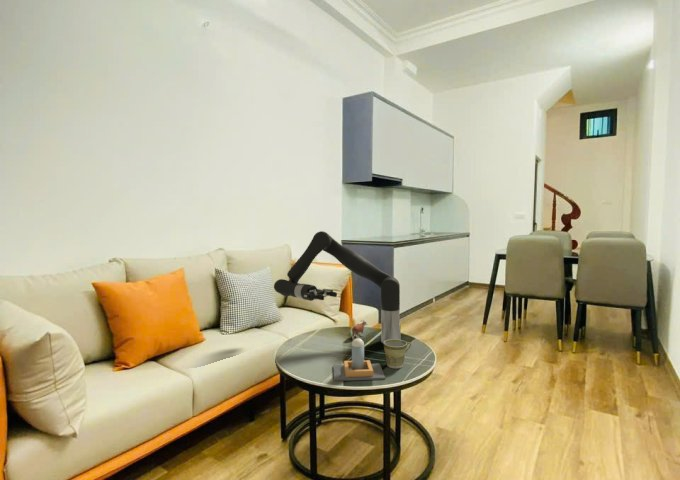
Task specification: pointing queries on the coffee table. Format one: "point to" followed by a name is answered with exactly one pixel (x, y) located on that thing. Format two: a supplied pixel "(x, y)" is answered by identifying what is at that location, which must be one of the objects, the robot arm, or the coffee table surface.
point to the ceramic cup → (395, 352)
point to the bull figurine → (358, 329)
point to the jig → (358, 372)
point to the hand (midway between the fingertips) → (330, 296)
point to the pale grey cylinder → (357, 354)
